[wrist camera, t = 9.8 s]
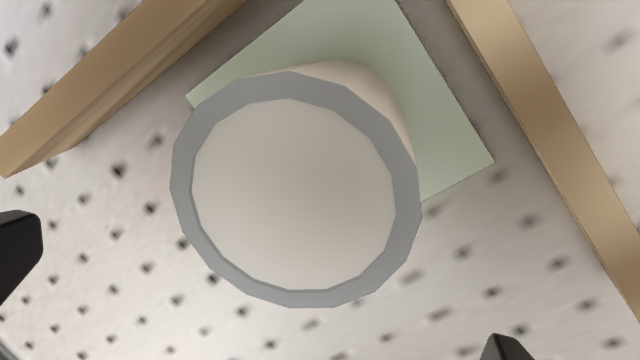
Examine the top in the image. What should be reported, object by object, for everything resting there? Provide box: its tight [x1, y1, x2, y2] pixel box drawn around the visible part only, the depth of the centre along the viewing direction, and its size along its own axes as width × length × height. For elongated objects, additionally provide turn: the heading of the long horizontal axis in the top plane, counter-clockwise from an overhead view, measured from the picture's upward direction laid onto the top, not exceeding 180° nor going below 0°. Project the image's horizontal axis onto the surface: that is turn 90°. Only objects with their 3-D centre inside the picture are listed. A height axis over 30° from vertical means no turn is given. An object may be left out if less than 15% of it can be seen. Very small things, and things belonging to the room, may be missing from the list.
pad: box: [184, 0, 495, 202], centre depth 19 cm, size 9×9×1 cm
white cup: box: [170, 58, 422, 308], centre depth 15 cm, size 7×7×7 cm
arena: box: [0, 0, 640, 323], centre depth 18 cm, size 18×18×4 cm
